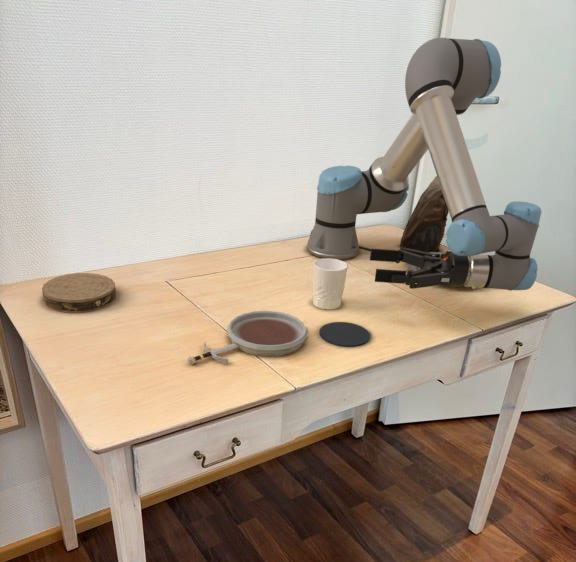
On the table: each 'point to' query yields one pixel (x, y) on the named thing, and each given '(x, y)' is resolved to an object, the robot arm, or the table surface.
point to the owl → (427, 221)
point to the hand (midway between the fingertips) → (372, 264)
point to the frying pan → (261, 335)
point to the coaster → (344, 334)
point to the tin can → (79, 292)
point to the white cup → (328, 283)
